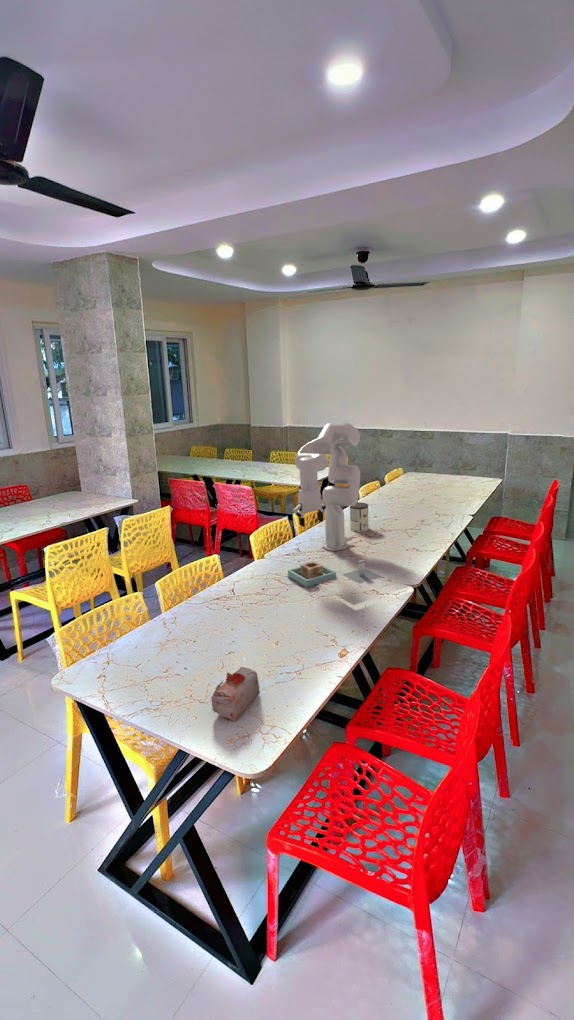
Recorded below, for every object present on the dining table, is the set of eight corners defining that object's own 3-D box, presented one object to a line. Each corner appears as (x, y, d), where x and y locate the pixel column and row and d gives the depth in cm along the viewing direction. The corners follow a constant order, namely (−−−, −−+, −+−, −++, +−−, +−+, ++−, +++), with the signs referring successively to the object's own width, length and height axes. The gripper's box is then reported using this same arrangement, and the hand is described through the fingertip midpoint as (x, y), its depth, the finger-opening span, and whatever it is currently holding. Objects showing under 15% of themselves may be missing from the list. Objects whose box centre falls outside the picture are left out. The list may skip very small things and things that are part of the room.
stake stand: (363, 571, 225) (363, 553, 223) (381, 579, 215) (381, 561, 213) (342, 577, 219) (341, 559, 217) (359, 586, 209) (359, 568, 207)
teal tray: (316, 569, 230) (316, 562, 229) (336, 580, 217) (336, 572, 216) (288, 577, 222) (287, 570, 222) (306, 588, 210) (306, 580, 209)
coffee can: (354, 525, 291) (354, 501, 288) (371, 527, 286) (371, 503, 282) (346, 530, 283) (346, 506, 279) (363, 532, 278) (363, 508, 274)
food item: (235, 725, 130) (232, 692, 128) (210, 717, 134) (207, 684, 131) (262, 695, 142) (260, 664, 139) (238, 689, 145) (236, 658, 143)
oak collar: (314, 572, 224) (313, 560, 223) (323, 577, 218) (322, 565, 217) (300, 576, 221) (300, 564, 219) (309, 581, 215) (309, 569, 214)
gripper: (320, 480, 226) (322, 517, 231) (287, 488, 218) (290, 525, 223) (330, 483, 220) (332, 521, 225) (297, 491, 211) (299, 530, 217)
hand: (311, 523), depth 224 cm, fingers open, 9 cm apart
